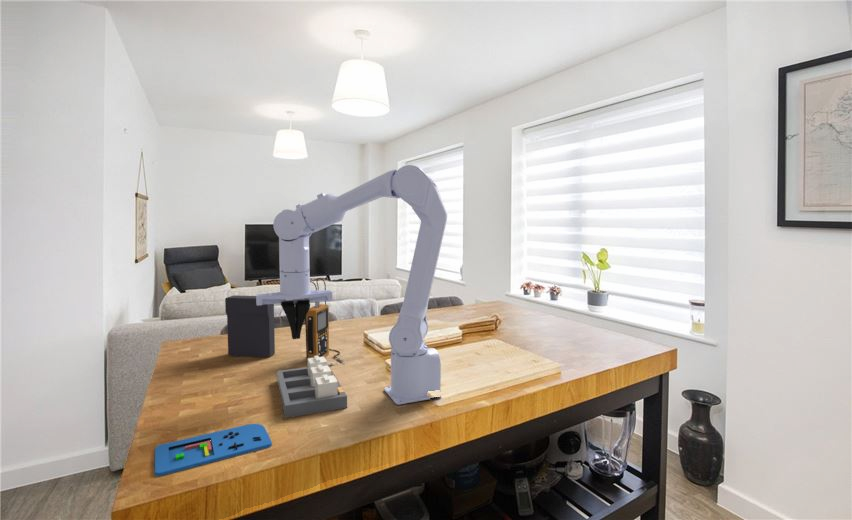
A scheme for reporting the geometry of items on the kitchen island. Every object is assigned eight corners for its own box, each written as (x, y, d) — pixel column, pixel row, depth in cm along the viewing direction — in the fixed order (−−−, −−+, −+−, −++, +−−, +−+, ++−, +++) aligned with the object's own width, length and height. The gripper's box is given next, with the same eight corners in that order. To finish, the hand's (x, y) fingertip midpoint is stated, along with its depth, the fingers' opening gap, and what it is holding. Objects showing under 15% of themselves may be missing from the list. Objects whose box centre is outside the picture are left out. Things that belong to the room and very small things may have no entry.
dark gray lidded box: (276, 353, 107) (275, 295, 106) (268, 358, 103) (267, 298, 102) (236, 351, 109) (234, 294, 107) (226, 356, 104) (224, 297, 103)
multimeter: (338, 371, 95) (337, 284, 93) (298, 368, 97) (296, 282, 95) (361, 352, 109) (361, 276, 108) (325, 349, 111) (324, 275, 109)
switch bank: (328, 374, 93) (328, 364, 93) (347, 407, 76) (347, 395, 76) (277, 381, 89) (277, 370, 89) (285, 418, 72) (284, 405, 72)
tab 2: (327, 381, 86) (327, 362, 85) (331, 388, 82) (331, 368, 82) (310, 384, 84) (310, 365, 84) (313, 391, 81) (312, 370, 81)
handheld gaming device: (272, 441, 63) (154, 472, 55) (272, 448, 63) (154, 480, 55) (261, 419, 70) (155, 443, 62) (261, 425, 70) (155, 451, 62)
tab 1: (324, 372, 91) (324, 354, 91) (327, 377, 88) (327, 359, 88) (307, 374, 90) (307, 356, 89) (310, 380, 87) (310, 361, 86)
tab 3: (333, 392, 80) (333, 372, 80) (337, 400, 77) (337, 379, 77) (315, 395, 79) (314, 375, 78) (318, 403, 75) (318, 381, 75)
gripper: (327, 267, 90) (328, 329, 91) (255, 270, 84) (256, 336, 85) (334, 271, 83) (334, 337, 85) (256, 274, 78) (257, 345, 79)
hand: (295, 337), depth 84 cm, fingers closed
